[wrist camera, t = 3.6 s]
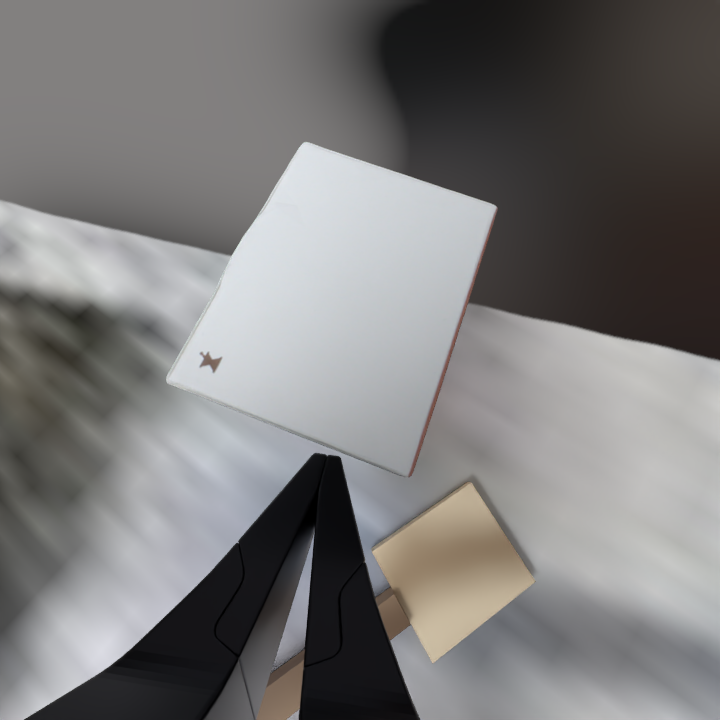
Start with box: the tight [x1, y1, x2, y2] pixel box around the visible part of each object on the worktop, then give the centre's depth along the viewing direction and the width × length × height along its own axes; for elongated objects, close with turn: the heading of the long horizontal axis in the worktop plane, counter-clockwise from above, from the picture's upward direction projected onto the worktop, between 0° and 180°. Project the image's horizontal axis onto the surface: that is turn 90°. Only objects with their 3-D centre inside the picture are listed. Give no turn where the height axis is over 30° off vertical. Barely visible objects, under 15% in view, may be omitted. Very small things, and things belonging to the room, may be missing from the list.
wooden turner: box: [256, 482, 536, 720], centre depth 16 cm, size 6×16×1 cm, turn 121°
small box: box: [166, 142, 498, 477], centre depth 14 cm, size 8×6×13 cm
